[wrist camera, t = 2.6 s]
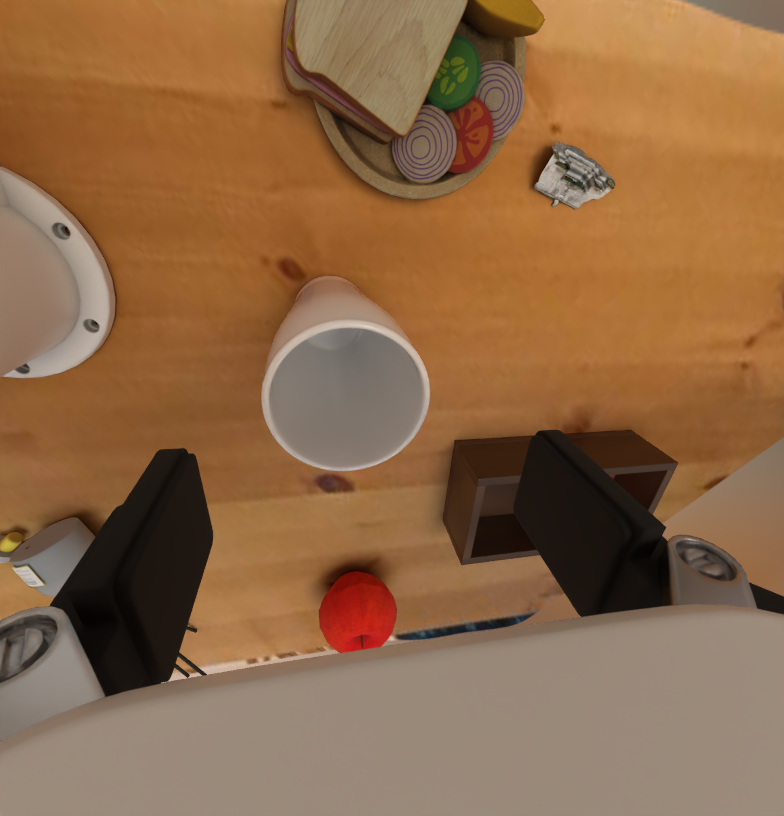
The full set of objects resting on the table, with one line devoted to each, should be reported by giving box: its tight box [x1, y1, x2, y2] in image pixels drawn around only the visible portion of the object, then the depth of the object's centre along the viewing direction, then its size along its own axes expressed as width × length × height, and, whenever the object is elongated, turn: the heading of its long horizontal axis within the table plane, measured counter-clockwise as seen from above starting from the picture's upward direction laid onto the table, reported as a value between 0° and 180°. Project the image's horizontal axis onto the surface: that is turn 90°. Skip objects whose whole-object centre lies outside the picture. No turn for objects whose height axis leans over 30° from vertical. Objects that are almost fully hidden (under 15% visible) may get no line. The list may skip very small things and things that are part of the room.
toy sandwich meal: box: [281, 0, 545, 199], centre depth 20 cm, size 12×14×5 cm
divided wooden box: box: [443, 430, 678, 565], centre depth 37 cm, size 10×19×6 cm, turn 87°
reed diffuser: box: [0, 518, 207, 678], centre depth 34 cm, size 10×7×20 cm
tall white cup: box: [261, 276, 430, 471], centre depth 21 cm, size 7×7×15 cm
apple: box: [319, 571, 397, 653], centre depth 39 cm, size 8×8×7 cm
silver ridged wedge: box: [534, 142, 615, 209], centre depth 26 cm, size 6×2×3 cm
